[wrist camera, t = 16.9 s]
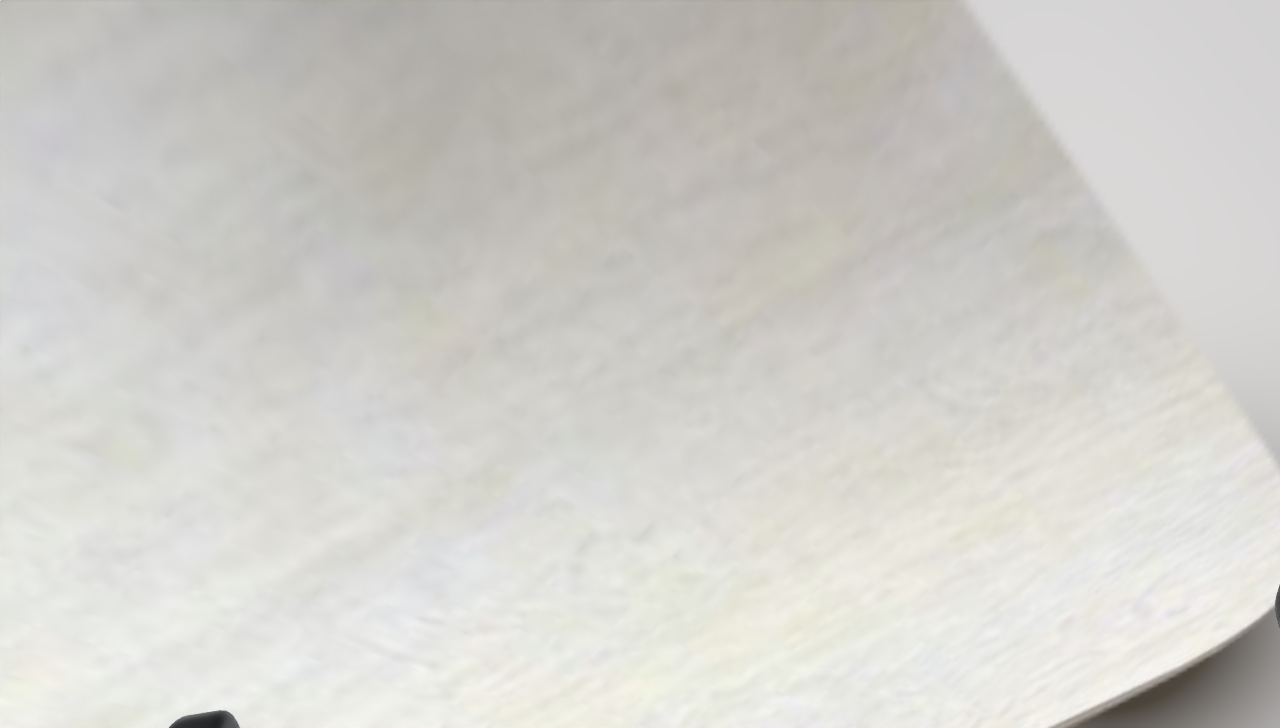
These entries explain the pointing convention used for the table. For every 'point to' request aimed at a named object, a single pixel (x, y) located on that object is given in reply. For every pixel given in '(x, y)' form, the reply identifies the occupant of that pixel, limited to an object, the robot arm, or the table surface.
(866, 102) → the table surface
